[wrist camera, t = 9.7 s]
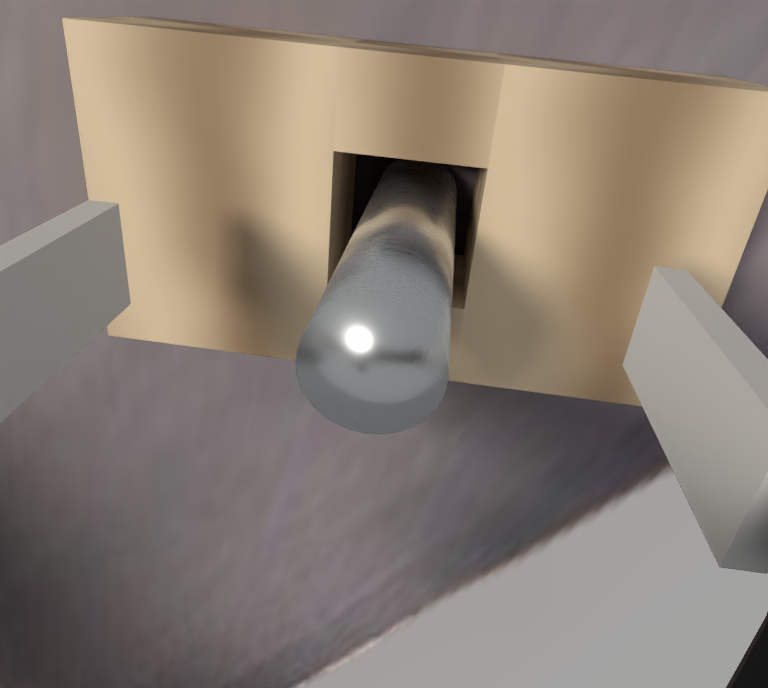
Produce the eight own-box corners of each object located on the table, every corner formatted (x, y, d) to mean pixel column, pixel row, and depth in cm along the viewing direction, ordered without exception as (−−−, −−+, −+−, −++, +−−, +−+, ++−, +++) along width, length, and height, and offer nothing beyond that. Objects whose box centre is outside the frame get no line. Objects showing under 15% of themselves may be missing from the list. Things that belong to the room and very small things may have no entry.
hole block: (167, 281, 26) (108, 335, 22) (143, 16, 21) (62, 17, 17) (642, 342, 25) (681, 411, 21) (730, 77, 20) (804, 95, 16)
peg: (374, 227, 24) (293, 422, 13) (382, 148, 23) (297, 291, 11) (450, 237, 24) (436, 444, 13) (463, 158, 22) (460, 313, 11)
